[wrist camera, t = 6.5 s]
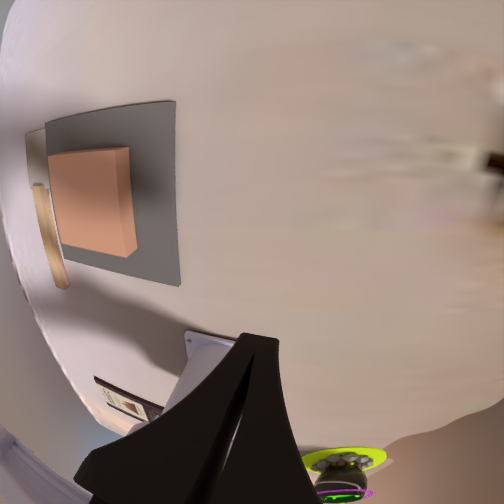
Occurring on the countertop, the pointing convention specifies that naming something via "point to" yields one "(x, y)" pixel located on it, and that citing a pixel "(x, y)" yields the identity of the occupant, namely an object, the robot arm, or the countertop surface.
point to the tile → (94, 199)
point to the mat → (132, 183)
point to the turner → (44, 203)
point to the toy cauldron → (342, 472)
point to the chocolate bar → (128, 402)
